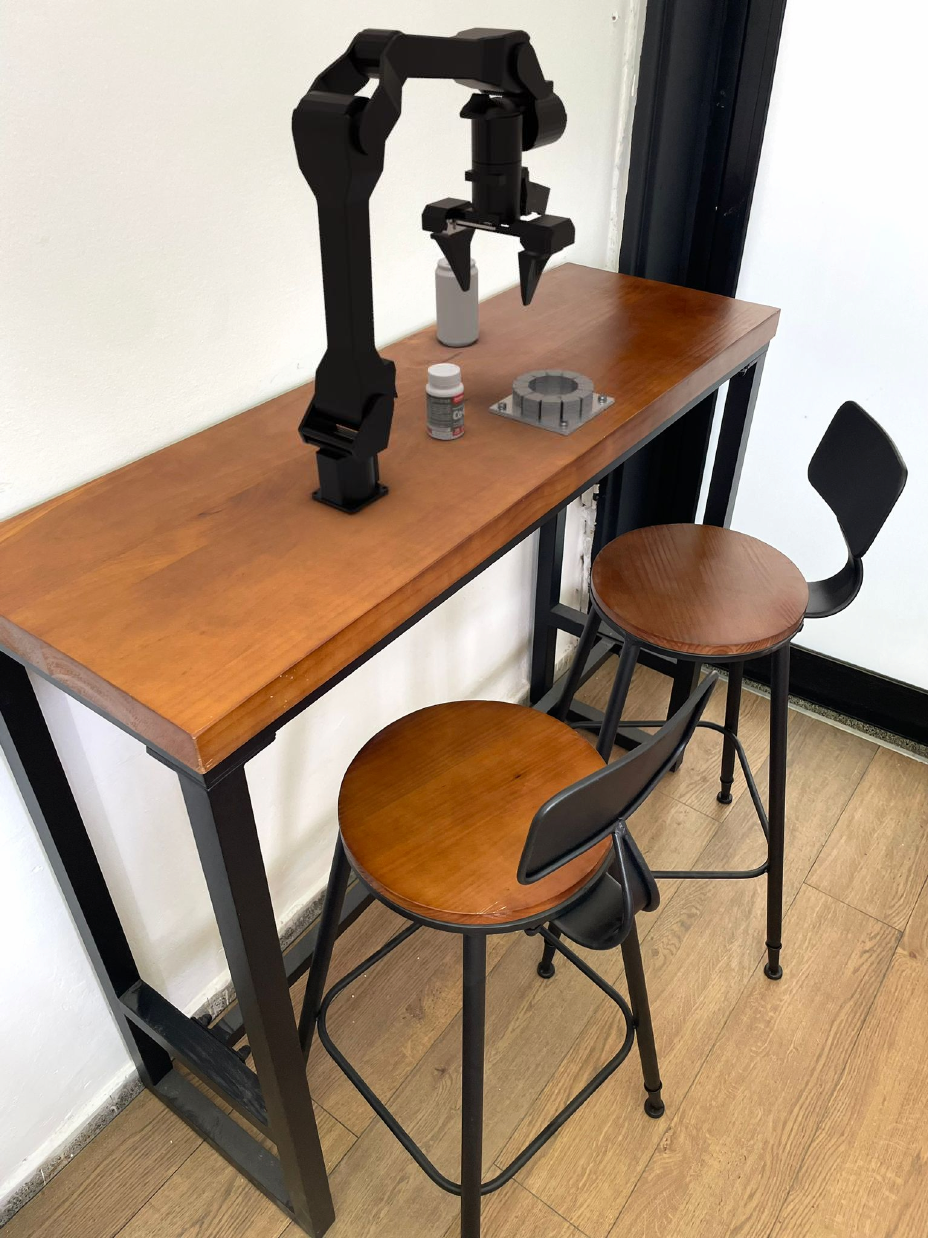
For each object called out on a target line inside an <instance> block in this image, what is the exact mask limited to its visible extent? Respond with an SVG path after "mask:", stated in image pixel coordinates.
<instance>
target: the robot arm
mask: <svg viewBox="0 0 928 1238" xmlns="http://www.w3.org/2000/svg"><path fill="white" fill-rule="evenodd" d="M530 40H531V36H530V34H529V33H528V32H527V31H525V30H523V29H509V28H494V27H472V28H468V29H464V30H461V31H458V32H457V33H456V34H455V35H452V36H437V35H436V36H435V35H426V34H425V35H424V34H413V33H411V34H410V33H405V32H403V31H401V30H398V29H388V28H387V29H386V28H384V29H383V28H369V27H368V28H364V29H363V30H362V31H358V32H357V34H355V36H354V37H353V38H352V39H351V42H350V43H349V45H348V47H347V48H346V50H345V52H344V53H342V54H341V55H340V56H339V57H338V58H337V59H335V60H334V61H333V62H332V63H330V64H329V65H328V66H327V67H326V68H325V69H324V70H322V71H320V73H319V74H318V75H317V76H316V77H315V78H314V79H313V82H312V83H311V85H310V86H309V88H308V91H306V93H305V94H304V96H302V97H301V99H299V101H298V104H297V106H296V107H294V109H293V110H292V115H291V129H290V130H291V134H292V135H291V137H292V140H293V145H294V150H295V156H296V160H297V165H298V168H299V170H300V172H301V174H302V176H303V178H304V179H305V181H306V183H307V185H308V187H309V188H310V191H311V192H312V194H313V196H314V198H315V201H316V206H317V208H316V209H317V219H318V220H317V221H318V232H319V236H318V237H319V248H320V249H319V250H320V260H321V262H320V263H321V273H322V274H321V276H322V277H321V278H322V287H323V288H322V289H323V290H322V291H323V305H324V316H325V317H324V318H325V333H326V350H325V351H324V354H323V355H322V358H321V360H320V361H319V364H318V365H317V367H316V369H315V374H314V375H315V376H314V394H313V395H312V397H311V399H310V402H309V404H308V406H307V408H306V410H305V413H304V415H303V416H302V419H301V420H300V423H299V425H298V427H297V432H298V434H299V436H300V438H301V440H302V442H303V443H304V444H306V445H312V446H314V447H317V448H319V449H318V450H316V451H315V457H316V458H315V460H316V467H317V474H318V475H317V476H318V482H319V488H317V489H316V490H314V491H312V492H311V493H310V495H311V498H312V499H314V500H317V501H318V502H322V503H323V504H326V505H328V506H331V507H333V508H336V509H338V510H341V511H343V512H346V513H348V514H355V513H358V511H360V510H361V509H364V508H365V507H366V506H368V505H370V504H371V503H373V502H374V501H376V500H378V499H379V498H381V497H383V496H384V495H386V494H388V492H390V489H389V486H388V485H385V484H382V483H380V482H379V481H380V479H381V478H380V469H379V467H380V466H379V454H380V453H381V452H383V451H385V450H386V449H388V446H389V441H390V436H391V435H390V434H391V429H392V423H393V418H394V411H395V399H396V400H397V399H398V398H399V395H398V392H397V388H396V380H397V379H396V377H397V376H396V375H397V368H396V364H395V361H394V360H393V359H388V358H384V357H381V355H380V353H379V351H378V350H377V348H376V347H377V346H376V341H375V340H376V339H375V338H376V336H375V317H374V314H375V313H374V293H373V291H374V289H373V270H372V269H373V268H372V267H373V265H372V243H371V240H372V239H371V222H370V221H371V220H370V219H371V218H370V217H371V215H370V199H371V197H372V194H373V193H374V190H375V188H376V187H377V184H378V182H379V180H380V178H381V176H382V174H383V171H384V168H385V153H386V141H387V140H388V138H389V137H390V135H391V133H392V132H393V130H394V128H395V126H396V125H397V123H398V121H399V119H400V117H401V115H402V110H403V109H402V107H403V106H402V105H403V104H402V103H403V87H404V86H405V84H406V81H408V79H428V80H429V79H430V80H431V79H436V80H453V81H454V82H455V83H456V84H458V85H461V86H463V87H467V88H469V89H473V90H478V91H479V92H478V93H477V92H472V93H471V96H470V98H469V100H468V101H467V102H466V103H465V104H464V105H463V106H462V107H461V109H460V111H459V115H458V116H459V118H460V119H464V120H470V124H471V125H470V128H471V129H470V131H471V132H470V134H471V135H470V136H471V139H470V140H471V147H470V148H471V169H467V170H464V181H465V182H468V183H469V182H471V200H467V199H462V198H455V197H450V196H449V197H448V196H447V197H445V198H442V199H439V200H437V201H432V202H430V203H427V204H426V205H425V206H424V208H423V210H422V212H421V216H420V218H421V230H422V231H425V232H429V233H430V234H429V238H430V239H431V240H434V241H435V242H436V244H437V246H438V247H439V249H440V251H441V253H442V254H443V256H444V257H445V258H446V259H447V261H448V263H449V265H450V267H451V269H452V271H453V273H454V275H455V277H456V279H457V281H458V283H459V285H460V287H461V290H462V291H463V292H467V291H469V289H470V281H471V258H472V256H471V253H472V252H471V249H472V248H471V246H472V245H471V244H472V241H473V238H474V236H475V235H474V234H475V233H476V230H479V231H484V232H488V233H492V234H500V235H505V236H511V237H515V238H519V244H520V245H521V247H522V248H523V250H520V251H518V252H517V258H518V259H517V260H518V275H519V285H520V287H519V288H520V297H521V302H522V305H523V306H524V307H527V306H529V305H531V302H532V300H533V298H534V295H535V293H536V290H537V287H538V284H539V282H540V280H541V278H542V274H543V272H544V269H545V268H546V266H547V264H548V262H549V261H550V259H551V257H552V256H553V255H555V254H557V253H559V252H561V251H564V249H565V248H567V247H569V246H571V245H574V244H575V242H576V226H575V224H574V222H573V220H572V219H571V218H570V217H564V216H559V215H553V214H547V213H546V212H547V208H548V203H549V199H550V192H551V190H552V189H551V187H548V186H546V185H543V184H540V183H538V182H533V181H530V170H529V167H528V166H523V165H522V164H523V163H522V162H523V152H524V153H526V152H529V151H531V150H535V149H539V148H541V147H546V146H547V145H551V144H553V143H555V142H557V141H559V140H560V139H561V138H562V136H563V135H564V133H565V131H566V128H567V123H568V114H567V112H566V107H565V105H564V101H563V100H562V99H561V98H560V96H559V95H557V94H556V93H555V92H554V89H555V88H554V86H555V85H554V80H553V79H552V80H551V79H545V76H544V73H543V71H542V67H541V65H540V62H539V58H538V56H537V53H536V51H535V48H534V46H533V45H532V44H531V41H530ZM371 79H373V80H378V84H377V86H376V88H375V90H374V92H373V93H372V95H371V97H368V96H362V95H356V94H357V93H359V92H360V91H362V89H364V88H365V87H366V86H367V84H368V83H369V81H370V80H371ZM491 96H492V97H491ZM533 213H535V214H536V215H537V217H535V218H532V219H529V220H526V219H522V217H528V216H531V215H532V214H533Z"/></svg>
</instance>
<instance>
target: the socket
mask: <svg viewBox="0 0 928 1238" xmlns="http://www.w3.org/2000/svg"><path fill="white" fill-rule="evenodd" d="M512 384H513V385H512V394H510V395H509V396H506V397H505V398H503V399H502V400H500V401H498V402H496V403H495V404H493V405H491V406H490V407H489V411H488V412H489V413H491V414H493V415H494V414H495V415H497V416H501V417H505V418H507V419H511V420H515V421H517V422H520V423H523V424H527V425H530V426H533V427H537V428H541V429H544V430H546V431H550V432H553V433H557V434H560V435H563V436H568V435H570V434H571V433H573V432H574V431H576V430H577V429H578V428H579V427H581V426H582V425H584V424H586V423H588V422H589V421H590V420H591V419H593V418H595V417H596V416H597V415H599V414H600V413H601V412H603V411H605V410H606V409H607V408H609V407H611V406H612V405H614V404H615V398H613V397H610V396H607V395H605V394H598V393H594V387H595V385H594V382H593V381H592V380H591V379H589V378H588V377H587V376H586V375H583V374H582V373H578V372H574V371H571V370H564V369H549V368H548V369H540V370H539V369H538V370H535V371H528V372H526V373H522V374H521V375H520V376H518V377H516V378H514V380H513V383H512ZM604 409H605V410H604Z"/></svg>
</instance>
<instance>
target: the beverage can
mask: <svg viewBox="0 0 928 1238" xmlns="http://www.w3.org/2000/svg"><path fill="white" fill-rule="evenodd" d="M436 263H437V266H436V268H435V270H434V282H435V283H434V284H435V308H436V310H435V311H436V334H437V339H438V340H439V342H442V343H443V345H445V346H447V347H448V346H449V347H452V348H453V347H458V348H460V347H466V346H468V345H471V344H472V343H474V341H476V340H477V339H479V329H480V328H479V325H480V324H479V269H478V267H477V265H476V259H474V258H472V257H471V281H470V289H469V291H467V292H463V291H462V290H461V287H460V285H459V283H458V281H457V279H456V277H455V275H454V273H453V271H452V269H451V267H450V265H449V263H448V261H447V259H446V258H445V256H444V257H441V258H439V259H438V260H437V262H436Z"/></svg>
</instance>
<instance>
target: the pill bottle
mask: <svg viewBox="0 0 928 1238" xmlns="http://www.w3.org/2000/svg"><path fill="white" fill-rule="evenodd" d="M461 375H462V374H461V368H460V366H458V365H457V364H453V363H447V362H446V363H437V364H433V365H430V366H429V367H428V369H427V380H428V383H427V384H426V385H425V403H426V423H427V424H426V425H427V434H428V435H429V436H430V437H431V438H434V439H437V440H442V441H443V440H444V441H445V440H446V441H447V440H448V441H450V440H454V439H458V438H460V437H461V436H462V435H464V433H465V430H466V429H465V427H466V426H465V387H464V383H462V382H461V380H462V376H461Z"/></svg>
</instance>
